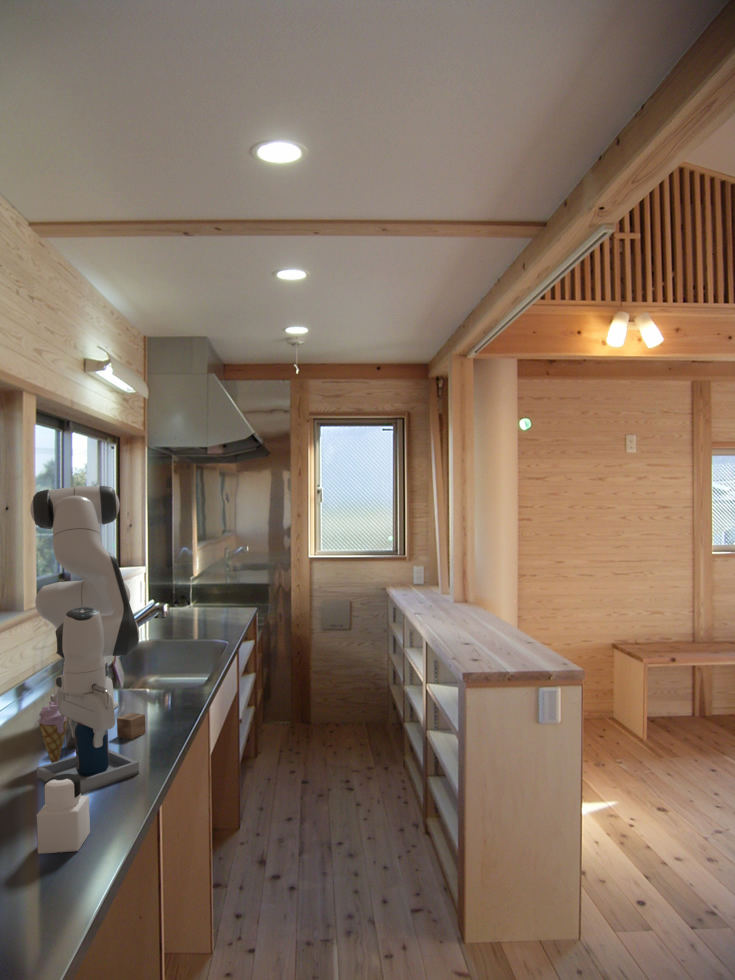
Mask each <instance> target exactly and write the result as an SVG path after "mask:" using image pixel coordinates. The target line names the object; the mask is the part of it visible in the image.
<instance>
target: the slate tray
mask: <svg viewBox="0 0 735 980" xmlns="http://www.w3.org/2000/svg"><path fill="white" fill-rule="evenodd" d="M139 765H140V764H139V761H137V760H135V759H132V758H130V757H128V756H125V755H123V754H121V753H118V752H115V751H113V750H111V749H109V766H108V768H107V770H106V771H105V772H102V773H99V774H96V775H93V776H90V777H81V776H80V775H79V773H78V772H77V770H76V755H73V756H71V757H67V758H63V759H61V760H60V759H59V761H57V762H54V763H51V762H50V763H48V764H44V765H42V766H37V767H36V779H37V781H39V782H41V783H43V784H45V783H46V781H47V780H49V779H50V778H52V777H54V776H57V775H61V774H75V775H78V776H79V777H80V785H81V795H83V794H85V793H87V792H90V791H92V790H96V789H99V788H101V787H104V786H107V785H110V784H114V783H116V782H118V781H119V782H120V781H121V780H124V779H127V778H131V777H132V776H137V775H139V774H140V768H139Z"/></svg>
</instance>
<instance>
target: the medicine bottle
mask: <svg viewBox="0 0 735 980" xmlns="http://www.w3.org/2000/svg"><path fill="white" fill-rule="evenodd" d="M43 784H44V787H43V788H44V805H43V807H42V808H41V809H40V810H39V811H38V813H37V814H36V817H35V818H36V819H35V820H36V841H37V842H36V843H37V844H36V845H37V846H36V847H37V854H39V855H43V854H58V852H59V853H70V852H79V850H80V849H81V847H82V845H83V844H84V842H85V841H86V840H87V838H88V837H89V834H90V833H91V824H90V823H91V822H90V817H91V816H90V796H89V795H82V794H81V785H80V777H79V776H78V775H75V774H61V775H57V776H54V777H52V778H50V779H49V780H47V781H46V783H43Z"/></svg>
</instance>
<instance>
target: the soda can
mask: <svg viewBox="0 0 735 980" xmlns="http://www.w3.org/2000/svg"><path fill="white" fill-rule="evenodd" d="M94 734H95V733H94V732H93V728H90V727H88V726H86V725H83V724H82V723H79V722H78V724H77V726H76V729H75V743H76V749H75V756H76V770H77V772H78V773H79V775H80V776H81V777H90V776H93V775H96V774H99V773H102V772H105V771H106V770H107V768H108V766H109V750H110V749H109V729H108V730H105V733H104V736H103V738H102V739H103V745H102V746H101V747H98V748H95V747H93V746H92V739H94Z"/></svg>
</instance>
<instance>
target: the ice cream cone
mask: <svg viewBox="0 0 735 980" xmlns="http://www.w3.org/2000/svg"><path fill="white" fill-rule="evenodd" d="M48 703H49V705H48V706H44V707H42V708H41V709H42V710H41V711H40V712H39V714H38V715H39V716H40V717H41V718H40V719H39V720H38V723H39V728H40V732H41V737H42V738H43V743H44V746H45V748H46V751H47V754H48V757H49V761H50V763H54V762H57V761H60V757H61V754H62V749H63V746H64V741H65V738H66V726H67V718H66V717H64V716H61V715H60V712H59V710H58V702H57V699H56V700H55V703H53V702H51V701H50V702H49V701H48Z"/></svg>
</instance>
